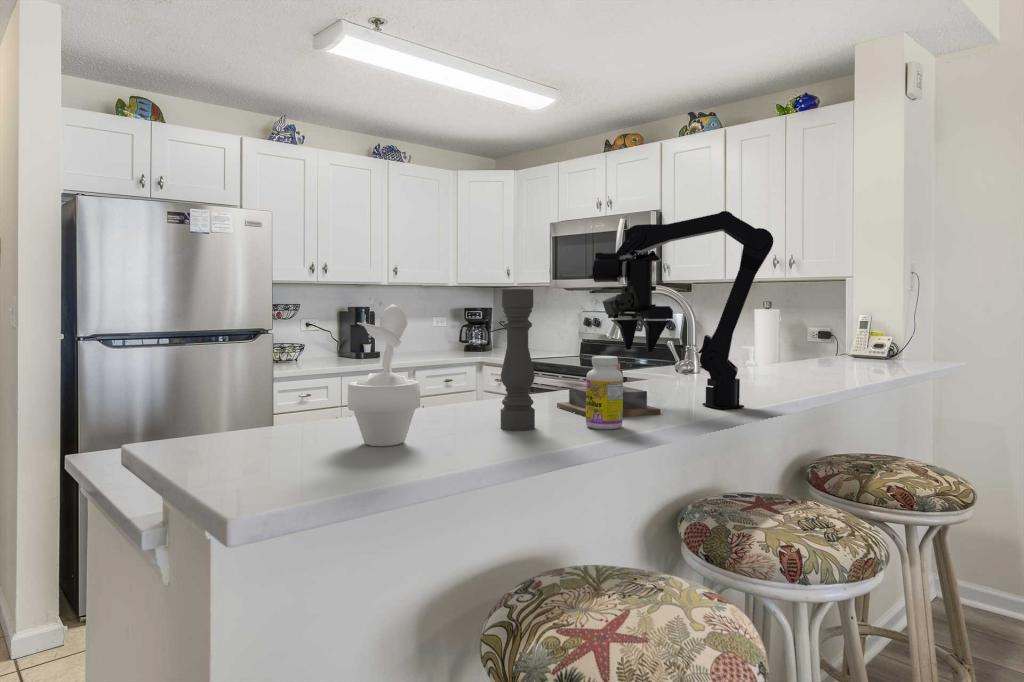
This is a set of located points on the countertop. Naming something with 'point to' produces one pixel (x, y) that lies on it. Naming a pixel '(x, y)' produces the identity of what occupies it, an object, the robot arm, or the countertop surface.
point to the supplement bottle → (604, 394)
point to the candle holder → (517, 361)
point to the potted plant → (385, 388)
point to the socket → (631, 402)
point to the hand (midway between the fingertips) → (638, 350)
